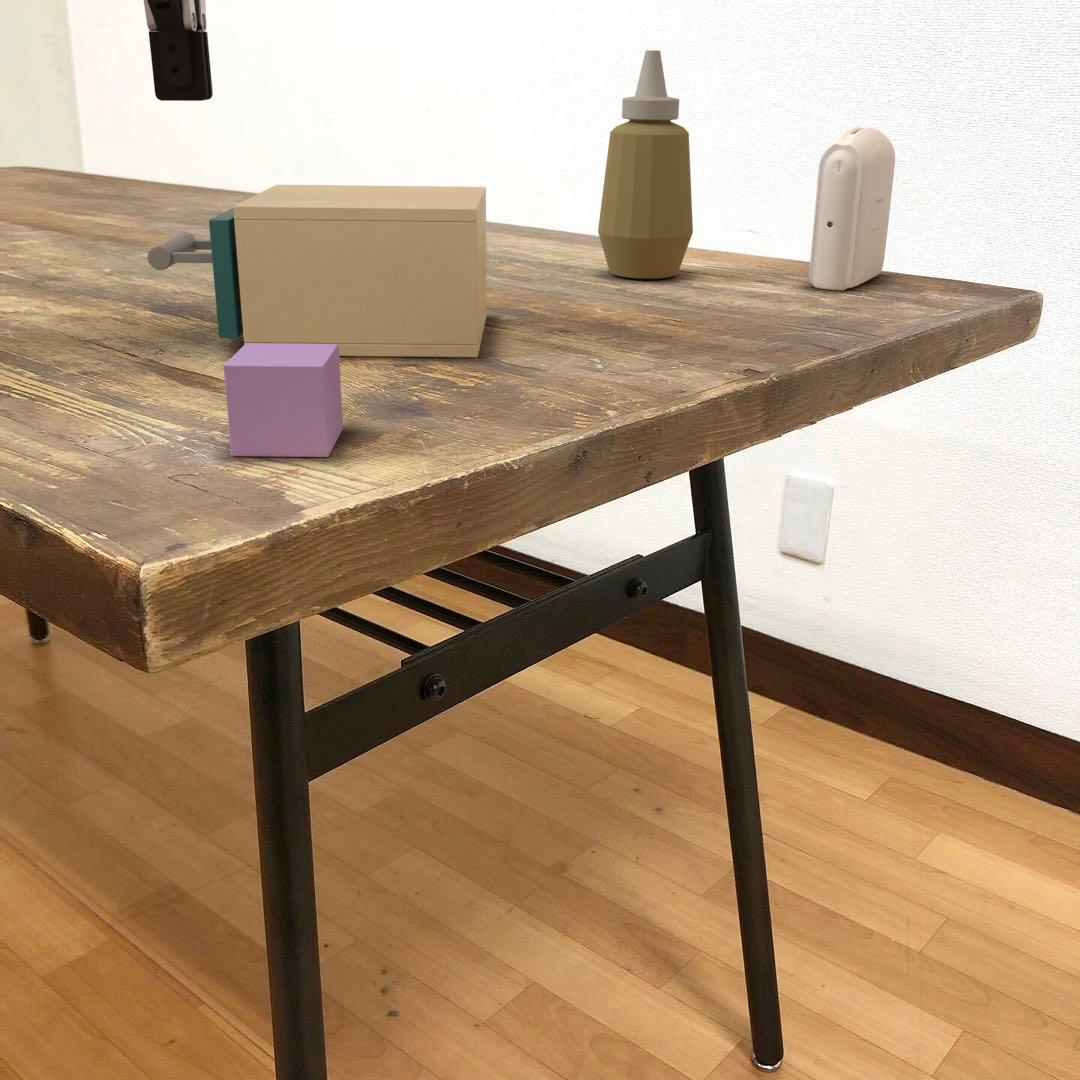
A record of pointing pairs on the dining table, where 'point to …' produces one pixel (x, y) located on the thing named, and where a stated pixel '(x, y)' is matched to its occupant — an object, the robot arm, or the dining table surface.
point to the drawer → (223, 267)
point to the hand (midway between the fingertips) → (184, 99)
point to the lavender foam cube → (284, 400)
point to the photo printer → (852, 209)
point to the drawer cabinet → (365, 268)
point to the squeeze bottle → (647, 183)
